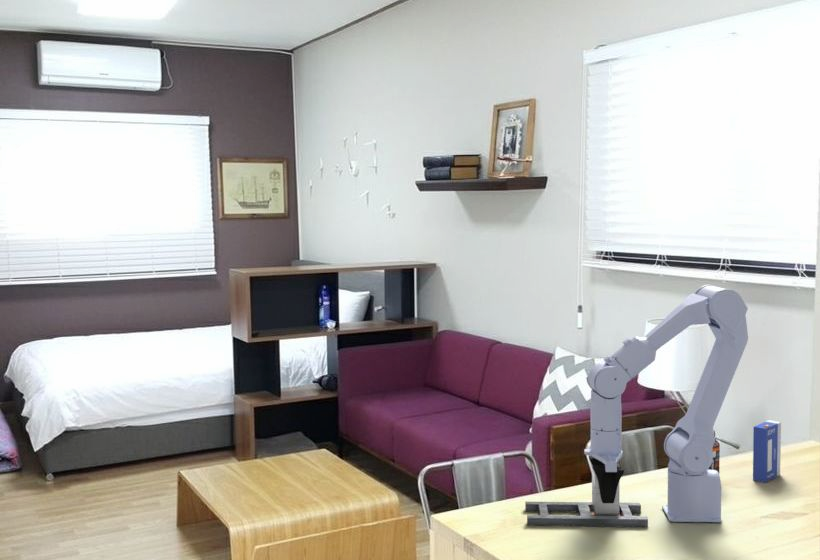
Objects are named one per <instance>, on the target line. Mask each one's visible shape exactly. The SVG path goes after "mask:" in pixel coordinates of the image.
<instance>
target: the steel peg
mask: <svg viewBox="0 0 820 560" xmlns="http://www.w3.org/2000/svg"><path fill="white" fill-rule="evenodd" d="M591 502H592V509H593V511H594V514H595V516H619V514H620V513H619V503H620V482H619V483H618V487H617V491H616V496H615V500H614V503H602V500H601V495H600V489H599V483H598V479H597V476H596V474H595V472H594V470H593V466H591Z"/></svg>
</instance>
